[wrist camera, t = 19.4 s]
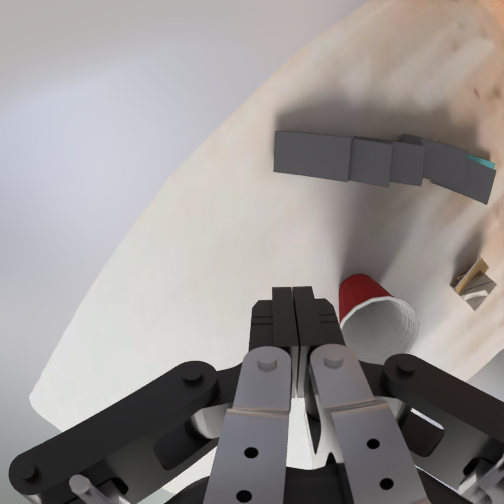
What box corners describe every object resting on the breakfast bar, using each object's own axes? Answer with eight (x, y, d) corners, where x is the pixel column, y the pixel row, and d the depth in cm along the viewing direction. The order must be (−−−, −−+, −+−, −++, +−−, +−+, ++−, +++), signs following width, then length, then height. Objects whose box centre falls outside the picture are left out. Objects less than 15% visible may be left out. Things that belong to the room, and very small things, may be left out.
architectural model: (444, 279, 43) (465, 302, 36) (469, 248, 41) (494, 267, 34) (453, 289, 44) (474, 312, 37) (478, 259, 42) (502, 279, 35)
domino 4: (403, 134, 35) (465, 150, 31) (398, 170, 37) (458, 186, 33) (403, 133, 33) (468, 151, 30) (398, 171, 35) (461, 188, 32)
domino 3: (355, 136, 36) (422, 146, 32) (352, 174, 38) (419, 184, 34) (353, 136, 34) (425, 146, 31) (351, 176, 36) (421, 186, 33)
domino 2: (322, 134, 36) (393, 144, 32) (319, 173, 38) (389, 185, 34) (318, 134, 34) (392, 144, 30) (315, 174, 36) (388, 187, 32)
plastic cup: (365, 241, 41) (396, 281, 30) (400, 291, 44) (431, 336, 33) (306, 287, 44) (317, 339, 33) (346, 331, 47) (363, 383, 36)
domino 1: (281, 131, 36) (353, 138, 32) (279, 170, 38) (350, 180, 34) (275, 131, 34) (351, 138, 31) (273, 171, 36) (347, 182, 33)
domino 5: (437, 147, 35) (492, 169, 31) (429, 180, 37) (483, 202, 34) (439, 147, 33) (496, 170, 30) (431, 182, 35) (486, 204, 32)
